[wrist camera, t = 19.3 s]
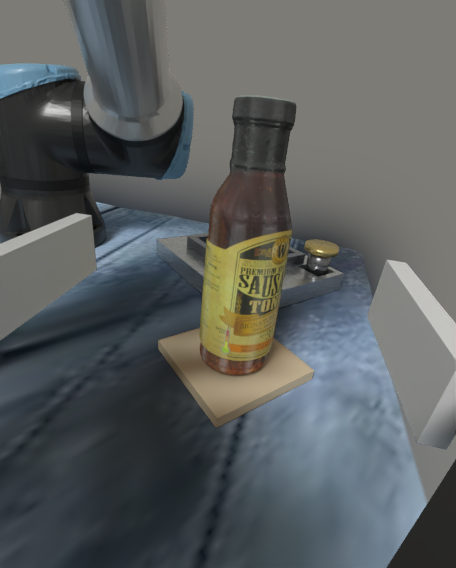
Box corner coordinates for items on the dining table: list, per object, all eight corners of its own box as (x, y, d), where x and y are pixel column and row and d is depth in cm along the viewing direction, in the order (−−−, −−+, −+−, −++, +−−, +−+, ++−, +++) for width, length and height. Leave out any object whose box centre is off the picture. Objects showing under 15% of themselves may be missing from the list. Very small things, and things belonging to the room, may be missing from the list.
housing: (156, 254, 50) (156, 229, 48) (248, 241, 60) (251, 219, 58) (233, 322, 35) (238, 290, 34) (338, 289, 45) (346, 263, 43)
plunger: (292, 270, 45) (298, 241, 43) (314, 265, 48) (320, 237, 46) (316, 284, 42) (324, 253, 40) (338, 278, 44) (346, 248, 42)
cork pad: (158, 349, 30) (158, 340, 30) (243, 321, 36) (244, 314, 35) (216, 428, 23) (217, 418, 23) (311, 379, 29) (314, 370, 28)
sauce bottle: (234, 392, 25) (268, 88, 16) (183, 353, 28) (189, 91, 20) (285, 357, 29) (332, 104, 21) (235, 327, 33) (257, 104, 24)
